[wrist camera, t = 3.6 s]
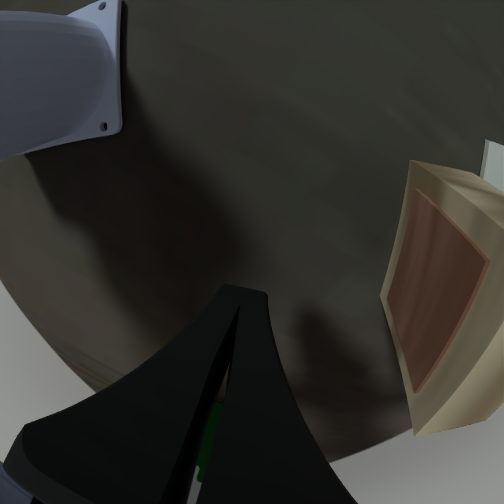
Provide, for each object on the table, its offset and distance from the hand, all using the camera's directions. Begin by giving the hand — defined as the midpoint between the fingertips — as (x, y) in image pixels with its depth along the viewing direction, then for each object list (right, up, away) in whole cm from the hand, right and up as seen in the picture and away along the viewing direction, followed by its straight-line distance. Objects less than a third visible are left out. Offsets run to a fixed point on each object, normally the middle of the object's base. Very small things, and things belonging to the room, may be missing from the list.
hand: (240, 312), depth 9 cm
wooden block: (+10, +3, +4) cm, 11 cm away
